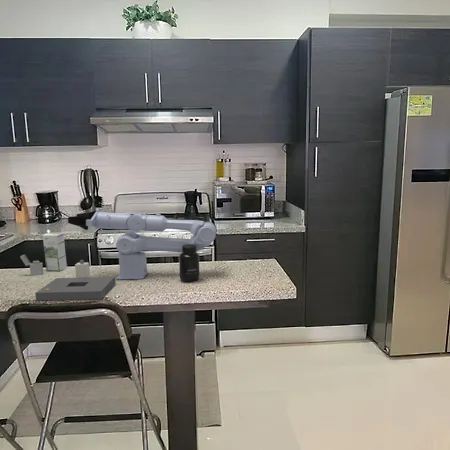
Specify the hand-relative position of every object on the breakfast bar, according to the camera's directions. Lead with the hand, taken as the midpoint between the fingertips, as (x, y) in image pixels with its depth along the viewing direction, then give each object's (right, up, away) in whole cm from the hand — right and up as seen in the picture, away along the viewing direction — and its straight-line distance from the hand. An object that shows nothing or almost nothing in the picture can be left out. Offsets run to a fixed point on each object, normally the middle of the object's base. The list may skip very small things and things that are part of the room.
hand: (72, 218), depth 139 cm
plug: (+4, -22, +1) cm, 22 cm away
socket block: (+6, -24, -12) cm, 28 cm away
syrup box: (-12, -20, +16) cm, 28 cm away
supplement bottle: (+42, -21, -3) cm, 47 cm away
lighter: (-18, -21, +9) cm, 29 cm away
